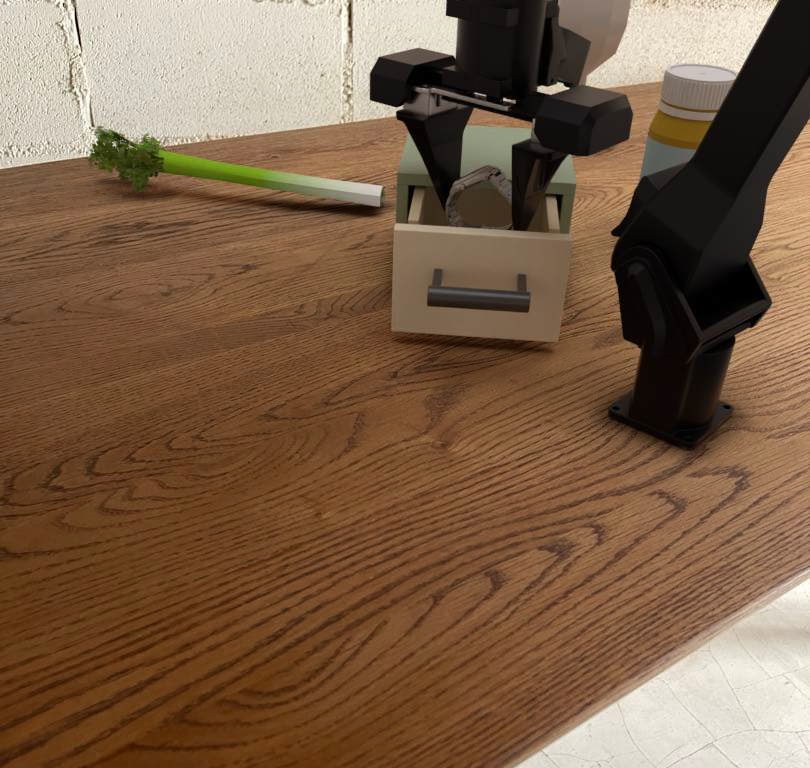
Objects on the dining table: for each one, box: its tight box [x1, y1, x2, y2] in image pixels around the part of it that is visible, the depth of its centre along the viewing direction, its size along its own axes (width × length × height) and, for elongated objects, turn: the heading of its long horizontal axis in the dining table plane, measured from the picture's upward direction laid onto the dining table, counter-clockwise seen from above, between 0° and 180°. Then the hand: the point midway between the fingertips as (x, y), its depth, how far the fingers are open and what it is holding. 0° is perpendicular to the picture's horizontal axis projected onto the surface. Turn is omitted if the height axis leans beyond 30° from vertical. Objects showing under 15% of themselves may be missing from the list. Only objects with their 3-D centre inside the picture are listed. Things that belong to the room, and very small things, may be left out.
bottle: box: [637, 62, 739, 185], centre depth 83 cm, size 7×7×15 cm
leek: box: [84, 125, 386, 208], centre depth 92 cm, size 6×7×30 cm
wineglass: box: [558, 0, 632, 86], centre depth 105 cm, size 9×9×21 cm
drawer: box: [390, 186, 574, 343], centre depth 70 cm, size 17×13×8 cm
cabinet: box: [395, 124, 577, 234], centre depth 79 cm, size 14×14×10 cm
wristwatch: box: [446, 165, 513, 231], centre depth 68 cm, size 4×6×5 cm, turn 59°
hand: (484, 222), depth 69 cm, fingers closed on wristwatch, 6 cm apart
